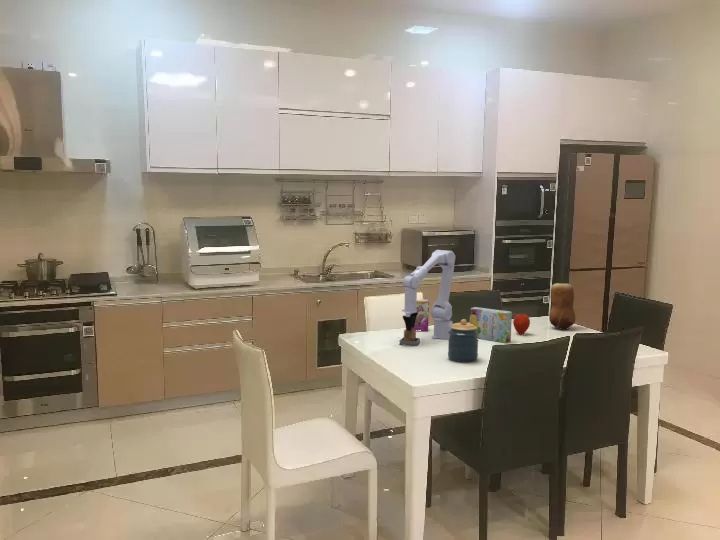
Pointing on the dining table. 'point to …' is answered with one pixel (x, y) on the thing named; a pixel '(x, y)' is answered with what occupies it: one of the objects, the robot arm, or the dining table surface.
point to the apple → (521, 323)
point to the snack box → (492, 324)
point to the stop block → (410, 335)
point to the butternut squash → (562, 306)
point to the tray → (410, 342)
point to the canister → (463, 342)
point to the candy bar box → (422, 315)
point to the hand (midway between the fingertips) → (410, 328)
